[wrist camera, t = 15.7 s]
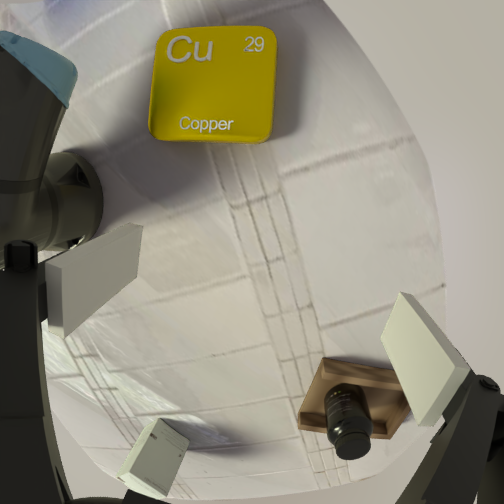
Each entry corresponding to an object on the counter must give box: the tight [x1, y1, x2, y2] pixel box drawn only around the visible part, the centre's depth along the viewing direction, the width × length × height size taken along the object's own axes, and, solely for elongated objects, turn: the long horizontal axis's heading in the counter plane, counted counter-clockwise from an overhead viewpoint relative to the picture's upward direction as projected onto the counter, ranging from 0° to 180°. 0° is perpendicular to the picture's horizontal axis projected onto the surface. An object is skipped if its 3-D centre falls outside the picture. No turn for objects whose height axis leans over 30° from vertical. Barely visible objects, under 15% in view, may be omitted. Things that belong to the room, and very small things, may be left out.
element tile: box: [148, 26, 278, 144], centre depth 35 cm, size 15×15×5 cm
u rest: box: [298, 358, 411, 439], centre depth 46 cm, size 17×12×4 cm
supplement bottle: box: [324, 383, 374, 460], centre depth 41 cm, size 7×7×12 cm
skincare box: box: [116, 418, 190, 499], centre depth 48 cm, size 8×6×15 cm
